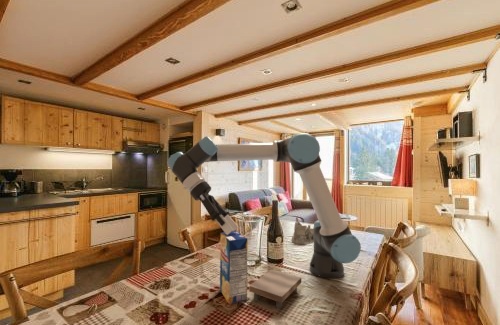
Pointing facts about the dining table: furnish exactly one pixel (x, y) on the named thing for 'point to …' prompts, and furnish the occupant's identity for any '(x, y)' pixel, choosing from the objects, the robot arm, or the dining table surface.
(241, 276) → the beverage box
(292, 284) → the small low table
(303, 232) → the ceramic cottage
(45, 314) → the dining table surface
